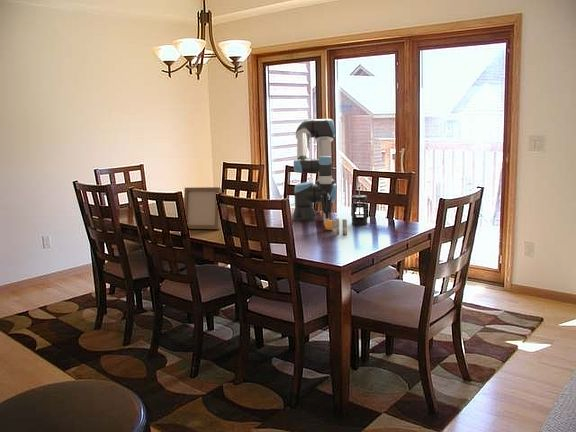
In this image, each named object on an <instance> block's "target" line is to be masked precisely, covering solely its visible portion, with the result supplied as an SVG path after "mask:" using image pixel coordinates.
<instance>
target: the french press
mask: <svg viewBox="0 0 576 432" xmlns="http://www.w3.org/2000/svg"><path fill="white" fill-rule="evenodd" d="M355 187H356V188H358V194H355V195H352V196H351V197H352V200H358V202H356V203H355V202H354V203H351V208H352V218H351V225H352V226H367V225H368V218H369V203H368V202H367V203H366V202H362V201H366V200H367V197H368V196H367V195H364V194H360V191H361V188H363V185H357V186H356V185H355ZM357 208H358V211H357ZM361 208H362V209H363V210H362V211H361Z"/></svg>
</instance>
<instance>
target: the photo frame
mask: <svg viewBox="0 0 576 432" xmlns="http://www.w3.org/2000/svg"><path fill="white" fill-rule="evenodd" d="M216 193H221V194H222V188H221V187H219V186H215V187H213V186H211V187H208V186H207V187H204V186H203V187H184V196H183V199H184V201H183V208H184V207H185V213H186V218H187V223H188V228H189V229H188V230H221V222H220V216H219V212H218V207H217V203H216V196H215V195H216Z"/></svg>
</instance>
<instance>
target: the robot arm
mask: <svg viewBox="0 0 576 432" xmlns="http://www.w3.org/2000/svg"><path fill="white" fill-rule="evenodd" d="M335 127H336V126H335V122H334V120H333V118H317V119H316V118H313V119H310V118H309V119H306V120H304V121H302V122H301V123H300V124H299V126H297V128H296V131H295V138H296V140H297V142H296V144H297V146H296V147H297V148H296V159H294V160H293V171H294V173H300V174H302V173H318V178H317V180H316V182H315V183H316V184H314V182H313V181H305V182H301V183H298V184H295V186H294V192H293V193H294V210H293V214H292V221H295V222H312V221H316V220H317V213H316V211H315V208H314V204H315V203H316V204H319V203H320V204H321V210H322V213H323V225H324V224H325V222H326V221H327V220H330V213H331V210H332V209H331V204H332V203H334V202H335V201H336V198H337V197H336V196H337V189H338V187H337V186H338V184H337V183H336V182H335V180H334V179H333V166H332V165H333V161H332V160H333V159H332V142H333V141H334V138H335V137H336V129H335ZM311 138H314V141H315V142H316V143H317V158H313V159H311V157H310V154H311V153H310V151H311V150H310V140H311Z"/></svg>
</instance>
